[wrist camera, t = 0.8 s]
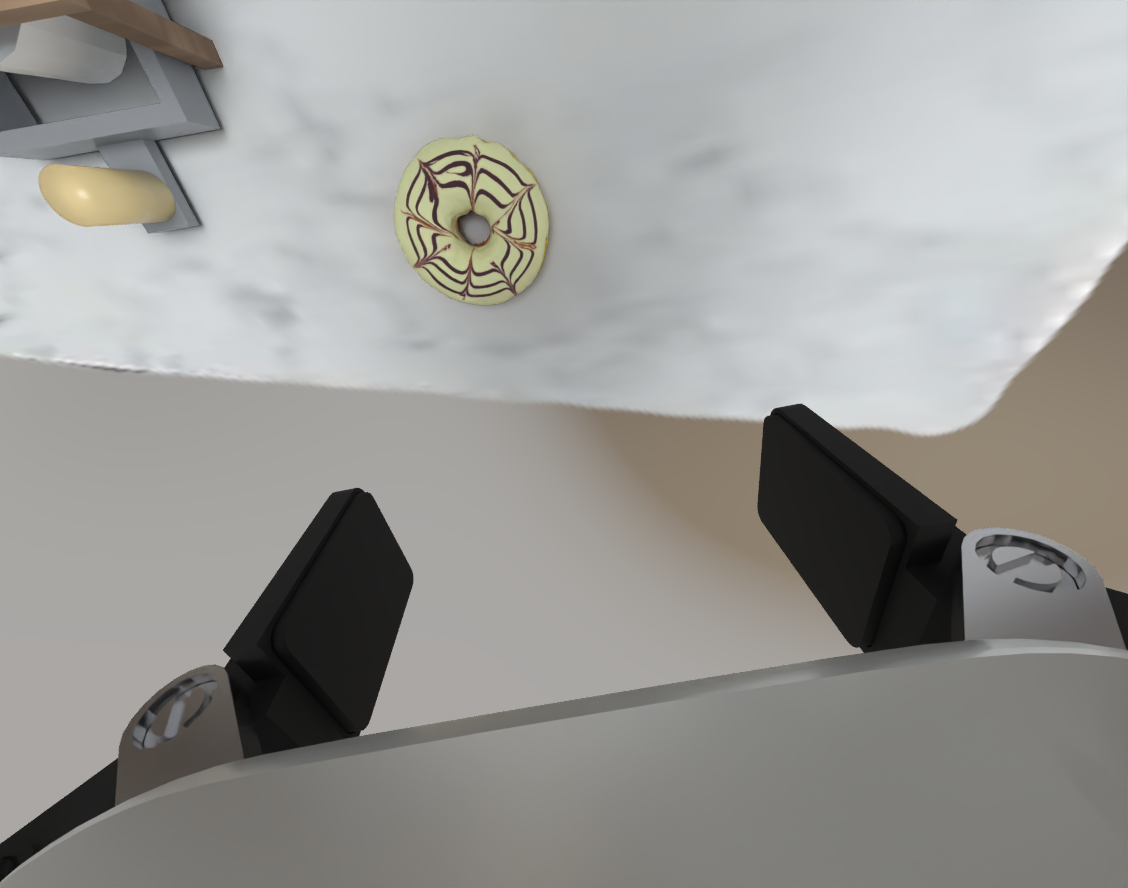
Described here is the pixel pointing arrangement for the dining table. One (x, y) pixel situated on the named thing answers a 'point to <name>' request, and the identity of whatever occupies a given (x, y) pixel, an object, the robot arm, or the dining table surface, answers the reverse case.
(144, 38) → the tunnel
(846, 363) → the dining table surface
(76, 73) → the white cylinder
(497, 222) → the decorated donut
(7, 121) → the slider
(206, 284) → the dining table surface
